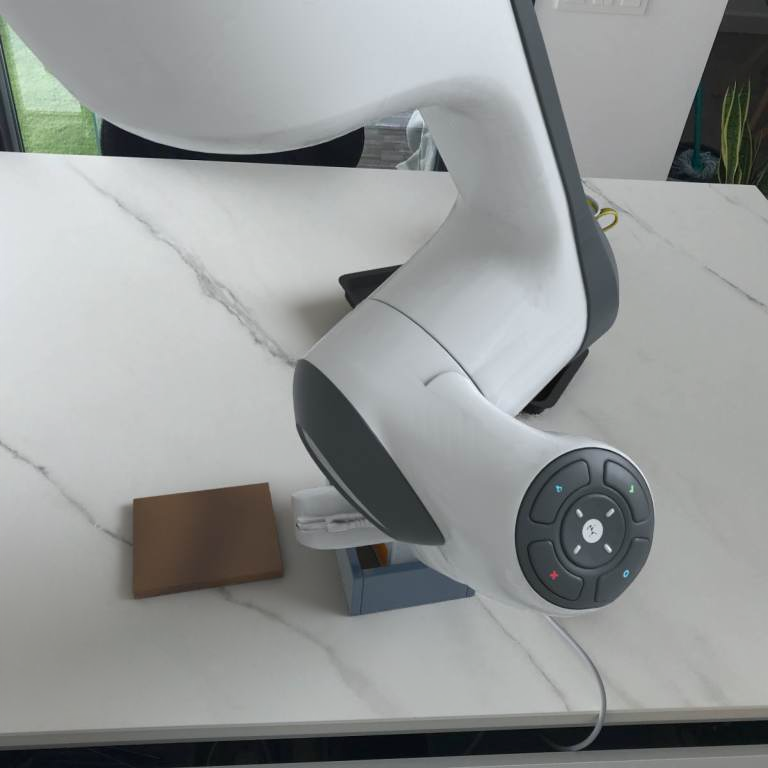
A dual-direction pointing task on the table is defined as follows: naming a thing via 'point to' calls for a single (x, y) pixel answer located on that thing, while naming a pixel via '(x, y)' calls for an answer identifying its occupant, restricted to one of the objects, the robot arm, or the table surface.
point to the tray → (370, 280)
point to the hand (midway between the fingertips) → (412, 494)
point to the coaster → (204, 540)
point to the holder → (393, 584)
